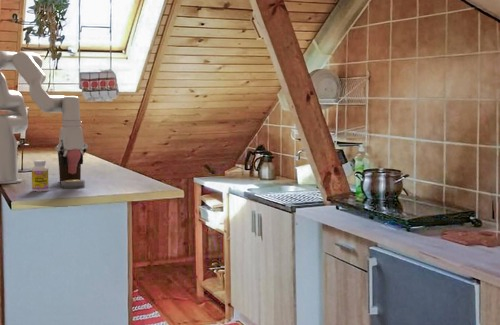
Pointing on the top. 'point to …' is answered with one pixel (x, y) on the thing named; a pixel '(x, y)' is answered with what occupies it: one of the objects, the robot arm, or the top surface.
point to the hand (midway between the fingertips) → (72, 164)
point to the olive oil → (64, 171)
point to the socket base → (73, 183)
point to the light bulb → (73, 160)
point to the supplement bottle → (39, 176)
